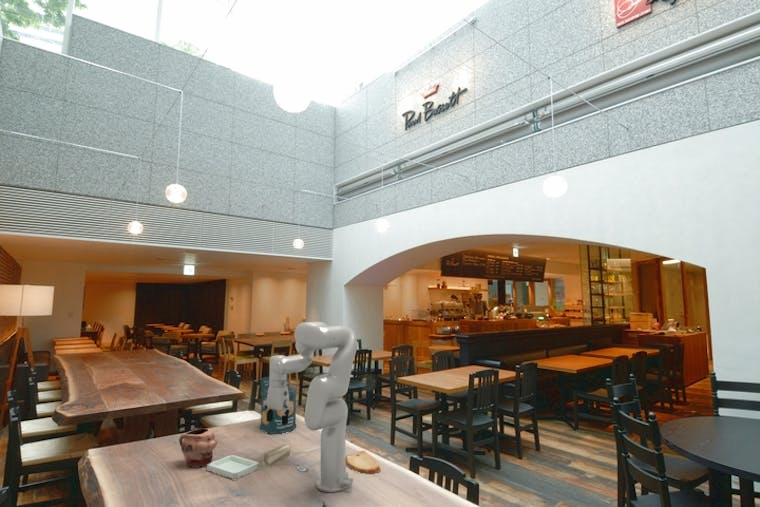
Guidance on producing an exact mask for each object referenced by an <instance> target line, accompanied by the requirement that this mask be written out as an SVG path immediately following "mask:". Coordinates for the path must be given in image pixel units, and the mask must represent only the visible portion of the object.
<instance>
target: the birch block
mask: <svg viewBox="0 0 760 507" xmlns="http://www.w3.org/2000/svg"><path fill="white" fill-rule="evenodd" d="M262 456H263V457H262V458H263V459H262V462H263V463H262V465H263V464H264V465H263V466H266V465H268V466H267V467H269V466H270V467H272V466H274V465H276V464H278V463H280V462H279V461H281V460H283V461H285V460H286V458H287V459H289V458H290V457H291V445H288V444H282V445H279V446H276V447H274V448H272V449H269V450H268V451H265V452H263V454H262ZM288 457H289V458H288ZM284 459H285V460H284ZM277 462H278V463H277ZM281 462H282V461H281ZM275 463H276V464H275ZM273 464H274V465H273ZM271 465H272V466H271Z"/></svg>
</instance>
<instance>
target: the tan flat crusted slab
mask: <svg viewBox="0 0 760 507" xmlns="http://www.w3.org/2000/svg"><path fill="white" fill-rule="evenodd" d="M348 467H349V468H350V470H352V469H353V470H354V472H356V471H357V472H356V473H359V472H360V473H359V474H363V473H365V474H364V475H376V474H375V473H377V474H380V473H381V467H380V464H379V462H378V461H377V460H376V459H375V458H374V457H373V456H372V455H370V454H369V453H368V452H367V451H365V450H360V451H357V452H355V453H353V454H350V455H348V454H347V455H346V468H348ZM349 468H348V469H349ZM353 470H352V471H353Z"/></svg>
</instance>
